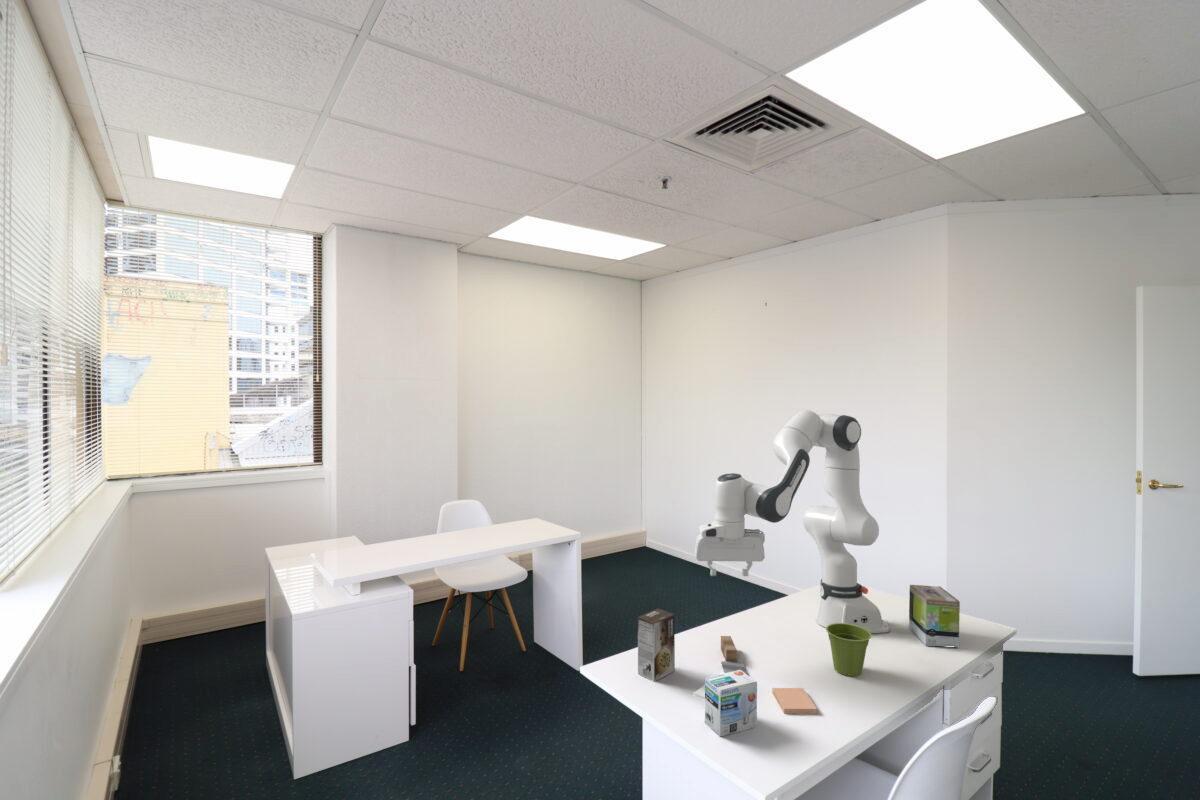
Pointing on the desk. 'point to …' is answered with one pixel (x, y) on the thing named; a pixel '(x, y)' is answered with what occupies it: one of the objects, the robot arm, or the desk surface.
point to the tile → (794, 701)
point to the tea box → (934, 615)
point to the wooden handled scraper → (730, 656)
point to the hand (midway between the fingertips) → (729, 575)
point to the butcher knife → (701, 691)
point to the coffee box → (656, 644)
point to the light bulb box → (730, 702)
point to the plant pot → (848, 647)
